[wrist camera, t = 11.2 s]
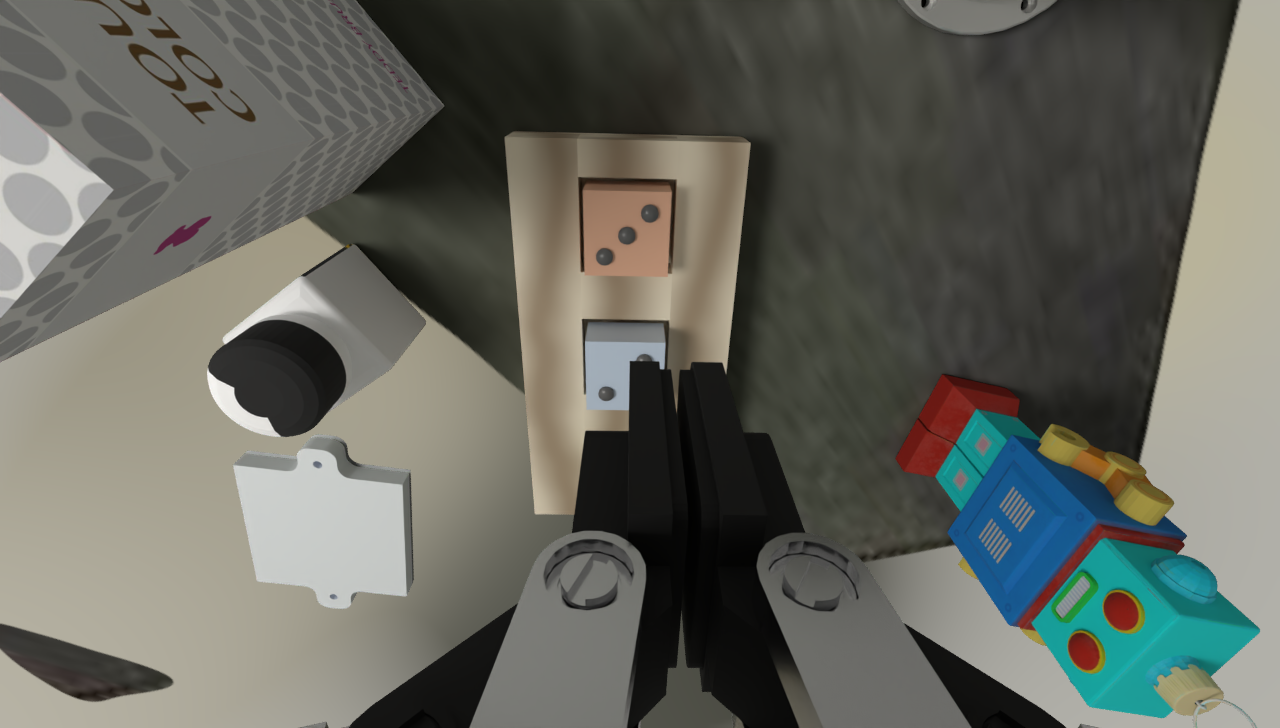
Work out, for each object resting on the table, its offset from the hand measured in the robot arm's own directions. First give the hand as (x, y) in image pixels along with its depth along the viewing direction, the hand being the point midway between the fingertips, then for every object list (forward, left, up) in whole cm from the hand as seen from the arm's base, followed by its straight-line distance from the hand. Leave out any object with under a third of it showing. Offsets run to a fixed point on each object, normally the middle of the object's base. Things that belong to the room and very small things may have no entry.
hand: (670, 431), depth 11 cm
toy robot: (-25, +19, -29) cm, 43 cm away
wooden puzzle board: (+1, +12, -29) cm, 31 cm away
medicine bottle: (+20, +10, -29) cm, 37 cm away
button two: (+1, +12, -27) cm, 29 cm away
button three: (+1, +3, -27) cm, 28 cm away
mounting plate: (+26, +30, -30) cm, 50 cm away
